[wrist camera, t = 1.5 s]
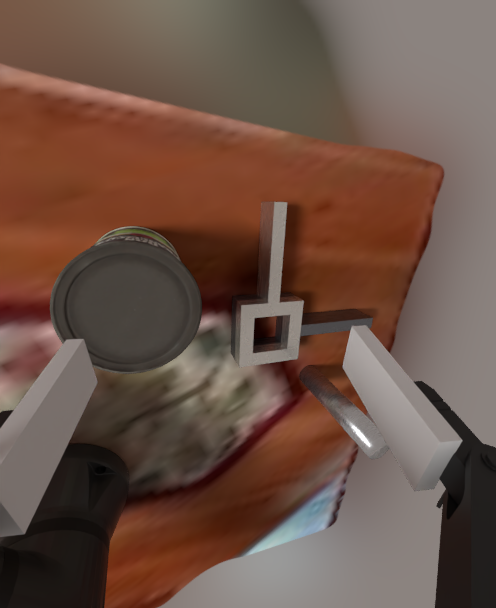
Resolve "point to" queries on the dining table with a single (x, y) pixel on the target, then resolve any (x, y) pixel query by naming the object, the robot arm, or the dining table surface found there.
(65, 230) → the dining table surface
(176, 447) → the dining table surface
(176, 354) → the coffee can
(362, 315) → the grey flat branched piece
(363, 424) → the pin
